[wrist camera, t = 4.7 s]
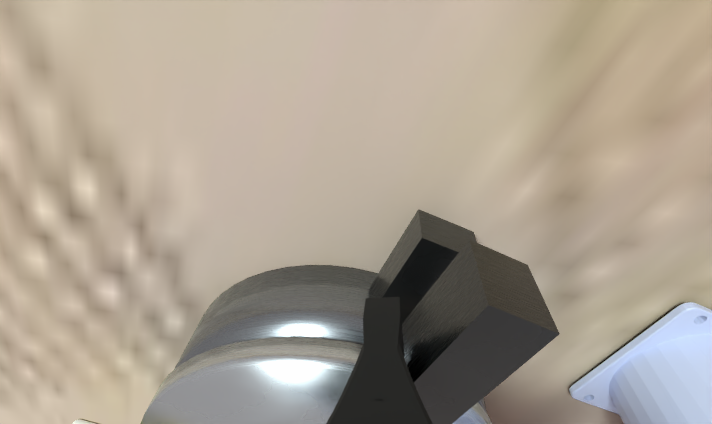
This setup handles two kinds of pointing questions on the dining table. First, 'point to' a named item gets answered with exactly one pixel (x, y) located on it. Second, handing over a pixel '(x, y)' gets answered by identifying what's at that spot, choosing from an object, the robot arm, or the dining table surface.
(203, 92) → the dining table surface
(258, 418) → the cooker lid
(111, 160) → the dining table surface
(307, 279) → the cooker pot
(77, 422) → the medicine bottle
